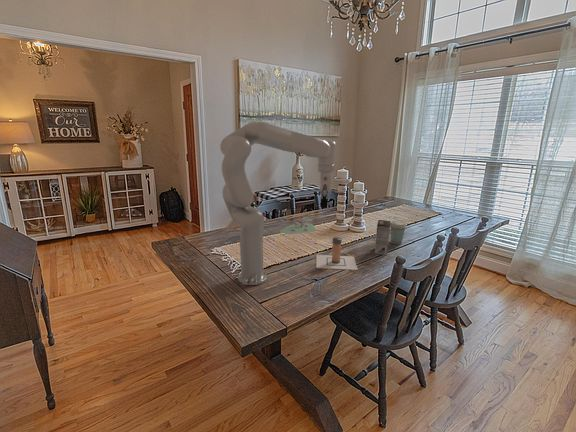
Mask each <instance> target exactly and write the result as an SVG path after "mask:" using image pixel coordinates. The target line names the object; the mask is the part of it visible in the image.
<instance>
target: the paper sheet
mask: <svg viewBox="0 0 576 432" xmlns="http://www.w3.org/2000/svg"><path fill="white" fill-rule="evenodd" d="M315 258H316V265H315V266H316V267H315V268H316V269H325V270H326V269H327V270H328V269H329V270H344V271H345V270H347V271H358V270H359V269H358V266H357V263H356V259H355V256H351V255H350V256H349V255H348V256H347V255H340V263H338V264H336V263H332V255H326V254H316V257H315Z"/></svg>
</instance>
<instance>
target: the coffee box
mask: <svg viewBox="0 0 576 432" xmlns="http://www.w3.org/2000/svg"><path fill="white" fill-rule="evenodd" d="M391 222H392V221H391V220H385V219H378V221H377V226H376V234H375V245H374V254H376V255H377V254H378V255H383V256H388V250H389V242H390V235H391V226H390V224H391Z"/></svg>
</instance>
